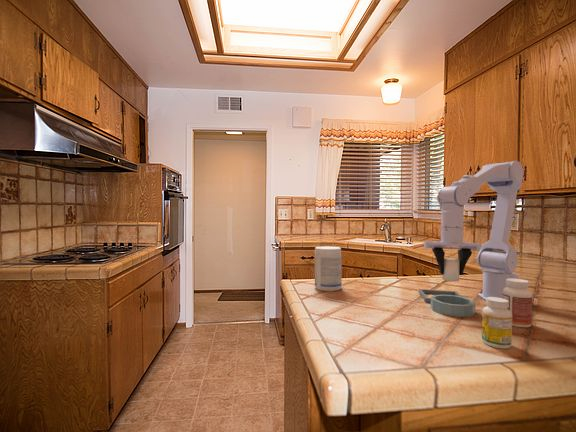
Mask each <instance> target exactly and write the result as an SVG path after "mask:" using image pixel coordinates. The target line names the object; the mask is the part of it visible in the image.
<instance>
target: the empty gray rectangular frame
mask: <svg viewBox="0 0 576 432" xmlns="http://www.w3.org/2000/svg"><path fill="white" fill-rule="evenodd" d="M419 293H420V294H419ZM426 293H429V294H430V295H454V296H460V297H464V296H463V295H462V294H460V293H459V292H458V291H456V290H455V291H454V290H441V289H440V290H439V289H427V288H426V289H424V288H418V294H419V295H420V297H421V296H422V297H421V298H422V300H423V299H424V300H423V301H424V303H430V304H431V297H428V296H427V295H426ZM429 294H428V295H429Z"/></svg>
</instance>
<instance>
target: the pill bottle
mask: <svg viewBox="0 0 576 432" xmlns="http://www.w3.org/2000/svg"><path fill="white" fill-rule="evenodd" d="M506 285H507V287H505V288H504V289H503V293H502V298H503V299H506V300H508V301H509V307H508V308H507V309H508V310H509V311H510V312H511V313H512V327H516V328H526V329H527V328H530V327H532V325H533V293H532V291H531V290H529V289H528V288H529V287H530V282H529V280H526V279H521V278H519V279H506Z"/></svg>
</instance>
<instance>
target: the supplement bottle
mask: <svg viewBox="0 0 576 432" xmlns="http://www.w3.org/2000/svg"><path fill="white" fill-rule="evenodd" d="M485 301H486V305H487V306H485V307H483V308H482V315H481V316H482V321H481V324H482V327H481V341H482V343H484V344H485V345H487V346H490V347H492V348H495V349H505V350H506V349H510V348H511V347H512V343H513V342H512V341H513V339H512V338H513V337H512V336H513V334H512V333H513V326H512V313H511V312H510V311H509V310H508V309H507V308H508V307H509V301H508V300H506V299H503V298H498V297H487V299H486V300H485Z"/></svg>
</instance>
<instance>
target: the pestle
mask: <svg viewBox="0 0 576 432" xmlns="http://www.w3.org/2000/svg"><path fill="white" fill-rule="evenodd" d="M459 271H460V259H458V258H453V257H444V274H441V275H442V276H441V279H442V280H444V281H446V282H459V281H460V275H459Z"/></svg>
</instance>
